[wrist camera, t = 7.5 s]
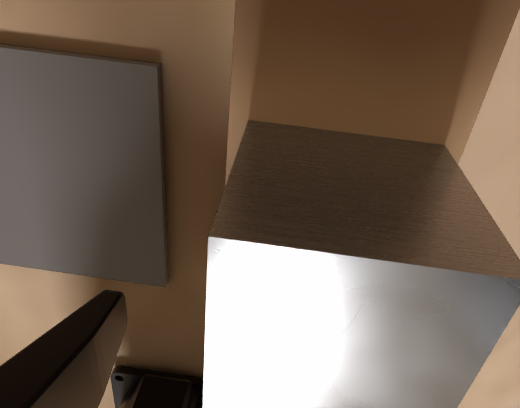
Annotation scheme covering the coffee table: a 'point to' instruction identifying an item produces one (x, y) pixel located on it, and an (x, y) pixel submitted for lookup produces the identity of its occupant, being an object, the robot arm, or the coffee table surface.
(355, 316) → the cap block
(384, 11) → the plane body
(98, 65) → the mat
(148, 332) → the coffee table surface
